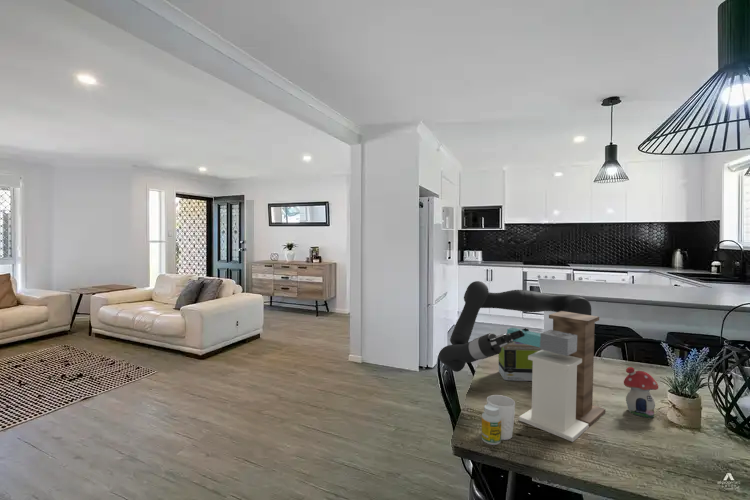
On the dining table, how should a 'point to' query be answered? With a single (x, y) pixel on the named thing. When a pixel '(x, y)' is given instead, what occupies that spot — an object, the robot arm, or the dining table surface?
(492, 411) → the supplement bottle
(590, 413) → the tall walnut stand
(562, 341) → the bar
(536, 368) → the low cream stand
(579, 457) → the dining table surface
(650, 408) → the decorative ornament
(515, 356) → the tea box
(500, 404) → the white cup
